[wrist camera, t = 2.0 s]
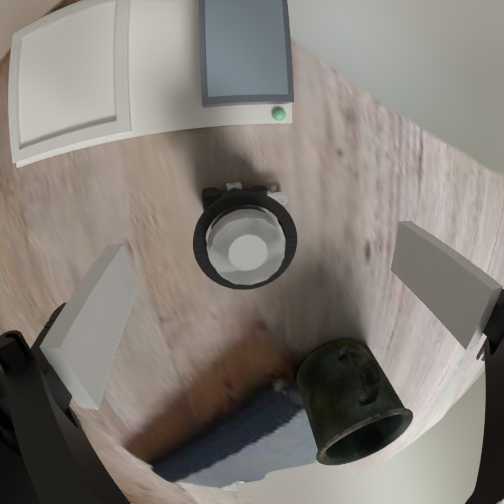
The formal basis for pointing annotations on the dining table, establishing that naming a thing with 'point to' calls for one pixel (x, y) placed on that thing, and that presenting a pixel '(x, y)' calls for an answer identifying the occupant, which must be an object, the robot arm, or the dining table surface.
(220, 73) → the blue-grey rectangular block
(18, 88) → the board
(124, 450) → the dining table surface
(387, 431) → the mug
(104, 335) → the robot arm
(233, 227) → the push button
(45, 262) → the dining table surface
